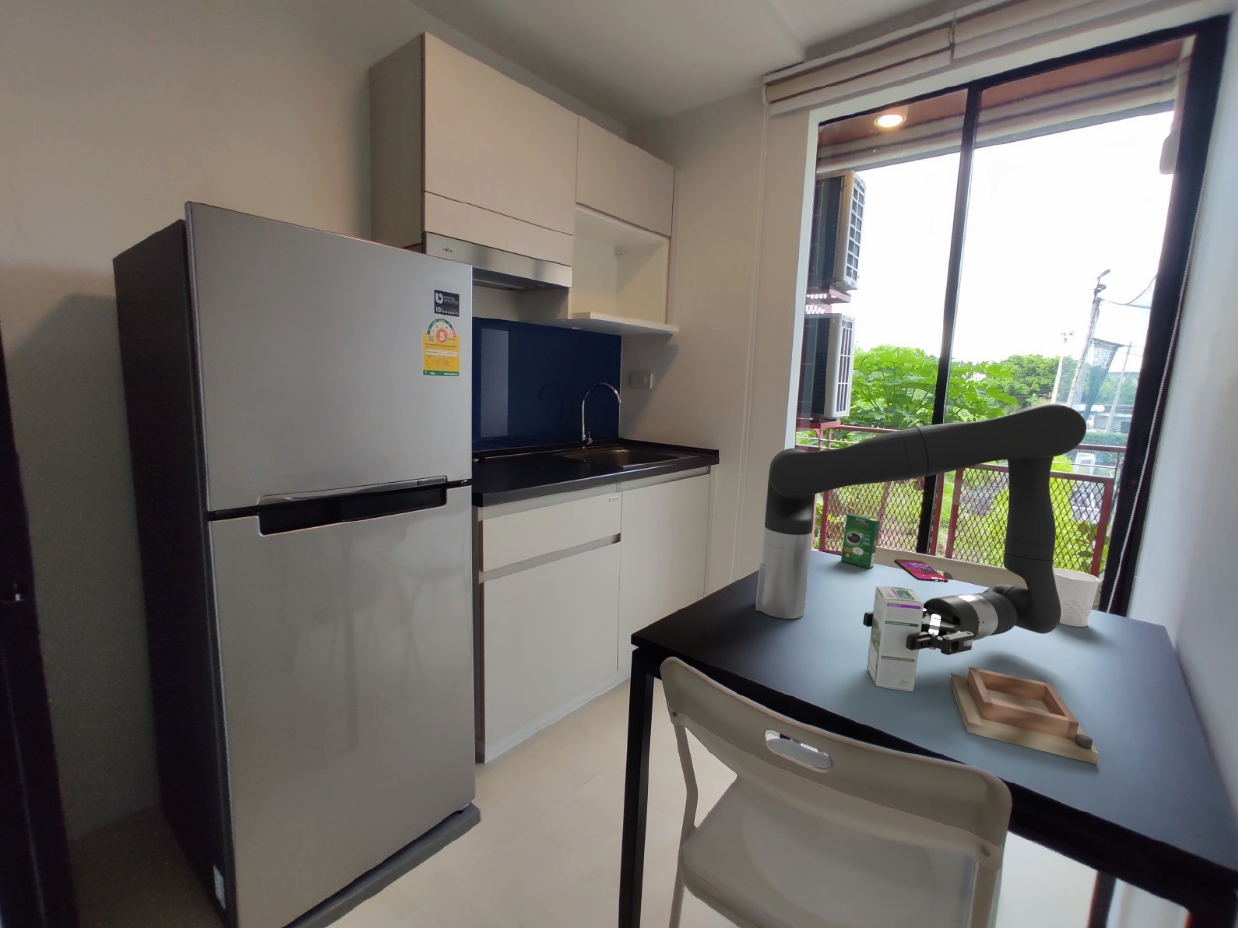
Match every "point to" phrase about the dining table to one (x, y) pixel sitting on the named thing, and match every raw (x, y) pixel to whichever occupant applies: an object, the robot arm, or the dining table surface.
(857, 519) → the coffee box
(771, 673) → the dining table surface
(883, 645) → the syrup box
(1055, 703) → the wooden cradle
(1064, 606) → the white cup
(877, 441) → the robot arm
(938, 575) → the smartphone
